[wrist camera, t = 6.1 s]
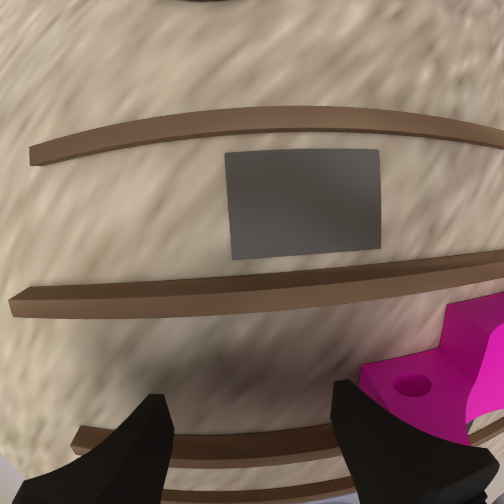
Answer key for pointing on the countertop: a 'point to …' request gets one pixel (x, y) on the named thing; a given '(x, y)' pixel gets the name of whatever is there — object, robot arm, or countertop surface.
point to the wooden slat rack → (271, 245)
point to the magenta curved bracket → (447, 373)
